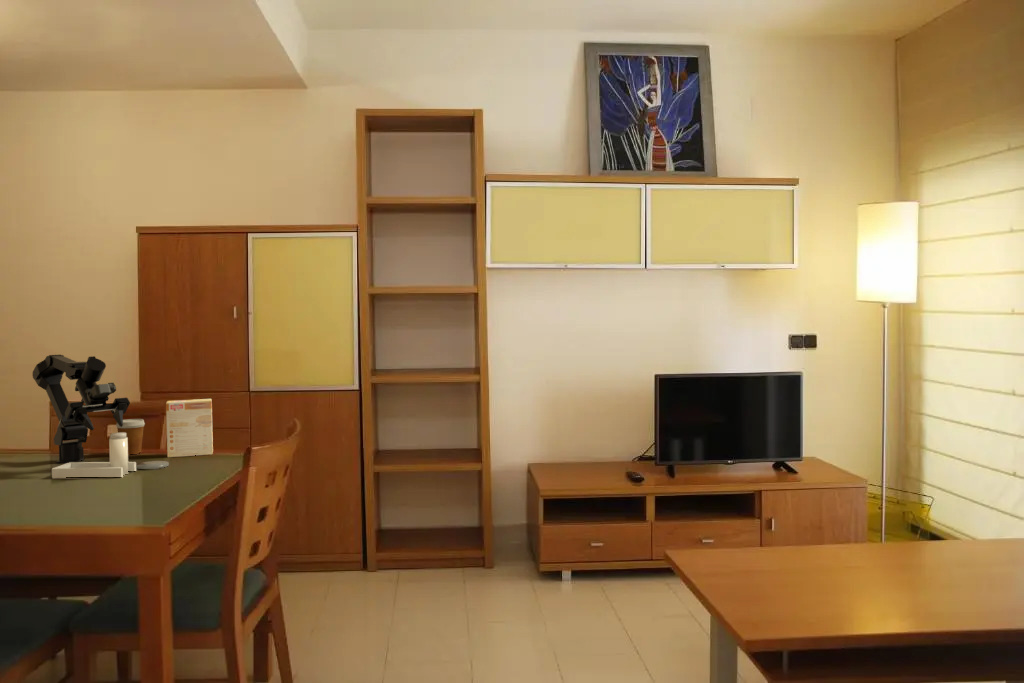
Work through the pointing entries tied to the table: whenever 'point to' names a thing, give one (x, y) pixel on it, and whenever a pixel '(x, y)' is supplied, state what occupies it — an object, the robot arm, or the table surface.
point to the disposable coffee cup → (133, 434)
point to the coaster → (152, 465)
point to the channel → (89, 470)
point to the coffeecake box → (189, 427)
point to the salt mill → (119, 451)
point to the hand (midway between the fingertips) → (107, 427)
